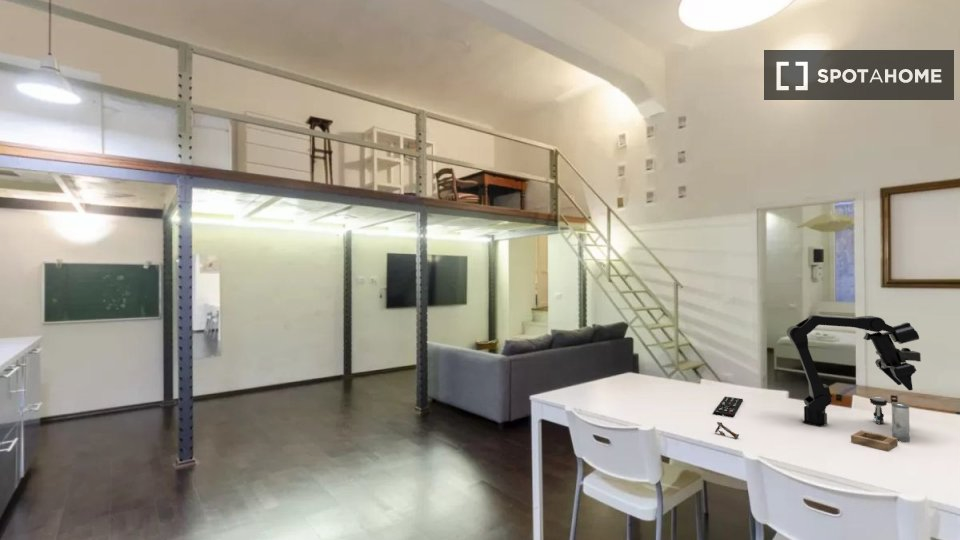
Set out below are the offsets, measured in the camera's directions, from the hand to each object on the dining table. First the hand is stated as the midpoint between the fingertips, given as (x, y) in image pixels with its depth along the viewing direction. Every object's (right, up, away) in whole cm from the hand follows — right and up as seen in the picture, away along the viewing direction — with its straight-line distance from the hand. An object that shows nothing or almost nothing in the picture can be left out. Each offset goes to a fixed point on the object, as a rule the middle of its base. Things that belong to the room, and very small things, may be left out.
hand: (905, 387), depth 168 cm
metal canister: (-8, -17, -7) cm, 20 cm away
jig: (-22, -17, -11) cm, 29 cm away
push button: (+1, -18, +12) cm, 21 cm away
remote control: (-48, -19, +34) cm, 61 cm away
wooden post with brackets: (-69, -18, -3) cm, 71 cm away
